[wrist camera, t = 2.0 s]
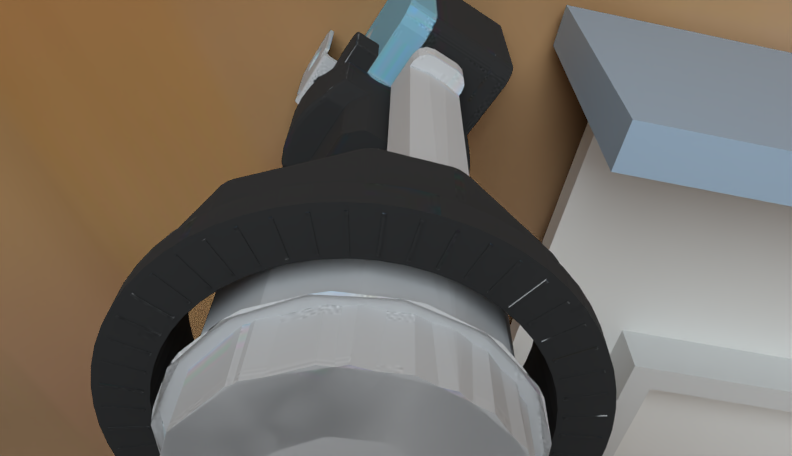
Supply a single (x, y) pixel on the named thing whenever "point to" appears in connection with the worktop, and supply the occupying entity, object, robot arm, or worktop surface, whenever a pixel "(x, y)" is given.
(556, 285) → the push button
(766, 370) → the tray
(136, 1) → the worktop surface
